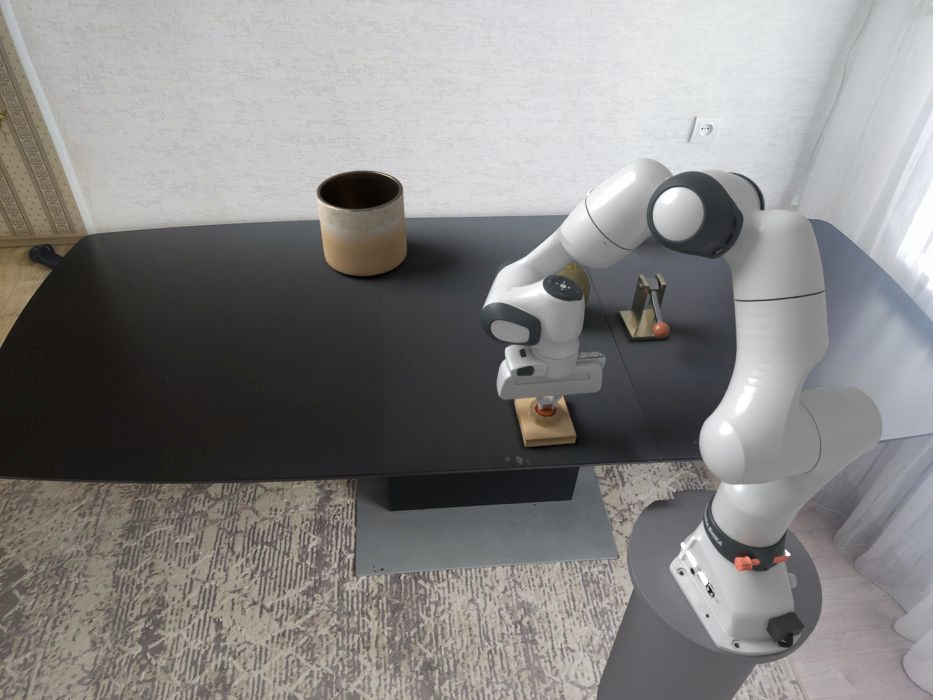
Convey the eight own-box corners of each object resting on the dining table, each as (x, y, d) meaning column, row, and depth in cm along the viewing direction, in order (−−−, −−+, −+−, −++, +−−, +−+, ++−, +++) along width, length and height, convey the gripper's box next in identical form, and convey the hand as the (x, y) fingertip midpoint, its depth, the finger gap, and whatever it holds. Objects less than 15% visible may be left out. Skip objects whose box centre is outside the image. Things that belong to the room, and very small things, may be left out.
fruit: (553, 296, 166) (559, 246, 157) (593, 312, 162) (602, 261, 152) (530, 319, 159) (535, 267, 149) (571, 336, 155) (580, 284, 145)
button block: (574, 442, 130) (577, 429, 127) (525, 447, 129) (526, 433, 126) (560, 399, 139) (563, 386, 136) (514, 403, 138) (515, 389, 135)
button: (555, 419, 131) (556, 413, 130) (538, 421, 131) (538, 415, 129) (551, 406, 134) (552, 400, 133) (534, 408, 133) (535, 402, 132)
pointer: (667, 340, 147) (673, 333, 144) (652, 341, 147) (657, 335, 144) (654, 283, 152) (660, 276, 149) (639, 284, 152) (644, 277, 149)
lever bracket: (664, 338, 155) (677, 291, 146) (631, 341, 154) (643, 293, 145) (650, 312, 162) (662, 266, 153) (618, 314, 161) (628, 268, 152)
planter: (324, 283, 169) (314, 213, 156) (325, 238, 185) (316, 171, 172) (410, 276, 172) (407, 208, 159) (403, 233, 188) (400, 167, 175)
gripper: (602, 340, 125) (592, 392, 134) (497, 348, 123) (493, 400, 132) (612, 362, 121) (601, 414, 130) (502, 371, 118) (498, 423, 128)
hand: (546, 407), depth 131 cm, fingers closed, pressing on button
